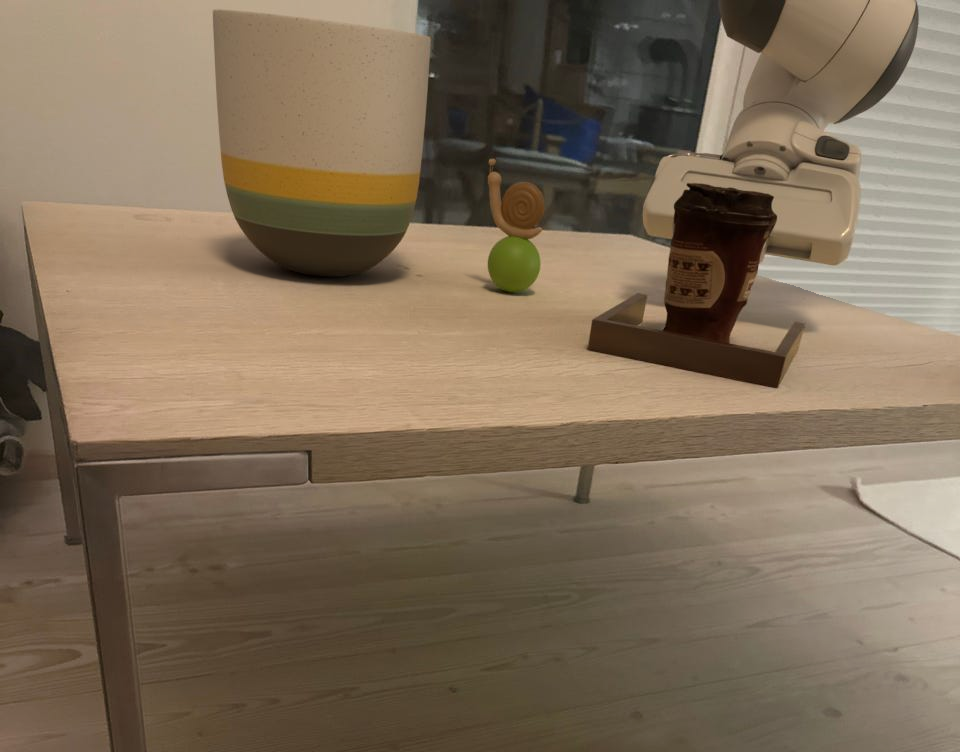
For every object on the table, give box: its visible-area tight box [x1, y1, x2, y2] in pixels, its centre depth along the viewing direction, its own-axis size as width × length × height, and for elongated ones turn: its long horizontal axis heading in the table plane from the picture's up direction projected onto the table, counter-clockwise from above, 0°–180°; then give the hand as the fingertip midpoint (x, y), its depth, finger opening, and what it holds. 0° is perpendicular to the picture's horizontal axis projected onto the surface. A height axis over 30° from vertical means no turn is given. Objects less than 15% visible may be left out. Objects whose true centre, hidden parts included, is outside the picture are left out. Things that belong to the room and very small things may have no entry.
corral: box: [587, 292, 806, 389], centre depth 81 cm, size 16×16×2 cm
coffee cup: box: [662, 183, 777, 343], centre depth 80 cm, size 9×8×13 cm
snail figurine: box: [487, 158, 546, 293], centre depth 93 cm, size 5×6×12 cm
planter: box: [212, 8, 432, 278], centre depth 89 cm, size 20×20×21 cm
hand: (727, 280), depth 88 cm, fingers closed
